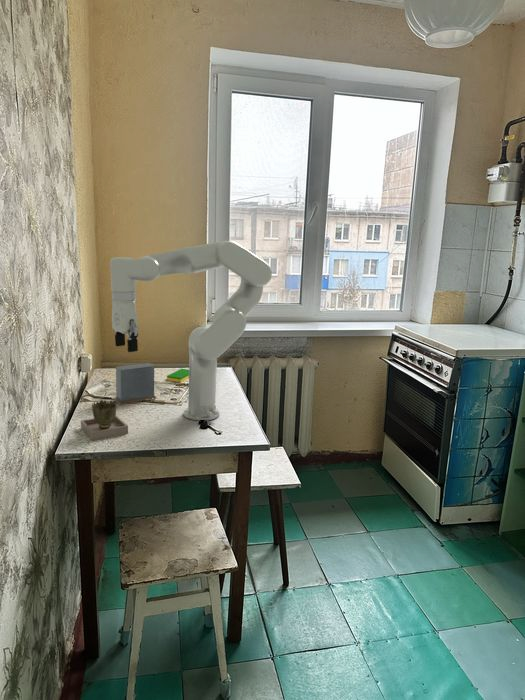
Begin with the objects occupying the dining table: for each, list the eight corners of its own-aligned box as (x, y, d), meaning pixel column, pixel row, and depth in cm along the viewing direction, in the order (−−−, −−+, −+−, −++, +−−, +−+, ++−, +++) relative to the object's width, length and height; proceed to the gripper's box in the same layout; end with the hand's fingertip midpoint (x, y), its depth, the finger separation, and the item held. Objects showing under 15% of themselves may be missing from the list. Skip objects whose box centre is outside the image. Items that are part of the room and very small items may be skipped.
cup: (120, 424, 157) (120, 401, 155) (111, 433, 149) (111, 408, 148) (98, 422, 157) (97, 399, 155) (88, 431, 150) (87, 406, 148)
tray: (128, 433, 152) (128, 425, 152) (92, 440, 146) (92, 432, 145) (115, 421, 161) (115, 414, 161) (81, 427, 154) (80, 420, 154)
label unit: (155, 398, 186) (156, 366, 183) (120, 404, 177) (120, 370, 174) (149, 394, 190) (149, 362, 187) (114, 399, 182) (114, 366, 179)
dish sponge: (195, 375, 221) (195, 370, 221) (181, 383, 208) (181, 378, 208) (181, 373, 223) (181, 368, 223) (166, 381, 210) (166, 375, 210)
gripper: (102, 294, 159) (105, 345, 163) (124, 300, 146) (126, 355, 150) (124, 293, 164) (126, 342, 168) (147, 299, 151) (148, 352, 155)
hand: (126, 348), depth 159 cm, fingers open, 9 cm apart
